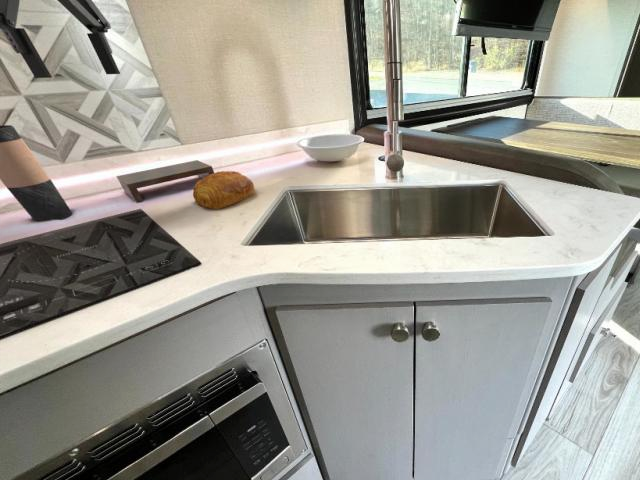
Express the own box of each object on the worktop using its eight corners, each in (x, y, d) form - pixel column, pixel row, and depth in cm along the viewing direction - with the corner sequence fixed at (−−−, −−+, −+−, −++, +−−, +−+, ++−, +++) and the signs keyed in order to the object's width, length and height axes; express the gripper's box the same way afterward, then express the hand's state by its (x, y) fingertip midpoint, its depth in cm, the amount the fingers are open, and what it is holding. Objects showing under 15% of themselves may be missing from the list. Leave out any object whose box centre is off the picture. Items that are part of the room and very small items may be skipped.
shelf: (136, 203, 86) (126, 184, 83) (125, 193, 92) (116, 176, 89) (218, 182, 98) (211, 166, 95) (203, 176, 105) (197, 160, 102)
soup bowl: (295, 157, 122) (291, 138, 118) (354, 149, 129) (352, 131, 125) (308, 172, 104) (303, 151, 100) (375, 162, 112) (373, 142, 108)
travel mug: (79, 209, 83) (21, 124, 71) (65, 220, 77) (-1, 129, 65) (44, 214, 81) (-22, 126, 69) (26, 225, 75) (-49, 132, 63)
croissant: (267, 201, 90) (262, 171, 86) (218, 213, 78) (210, 179, 73) (231, 193, 95) (225, 165, 91) (180, 204, 83) (171, 171, 78)
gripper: (-113, -142, 37) (24, 79, 50) (90, -74, 56) (150, 72, 69) (-157, -134, 38) (-12, 80, 51) (56, -70, 57) (122, 73, 70)
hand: (81, 76), depth 60 cm, fingers open, 13 cm apart
